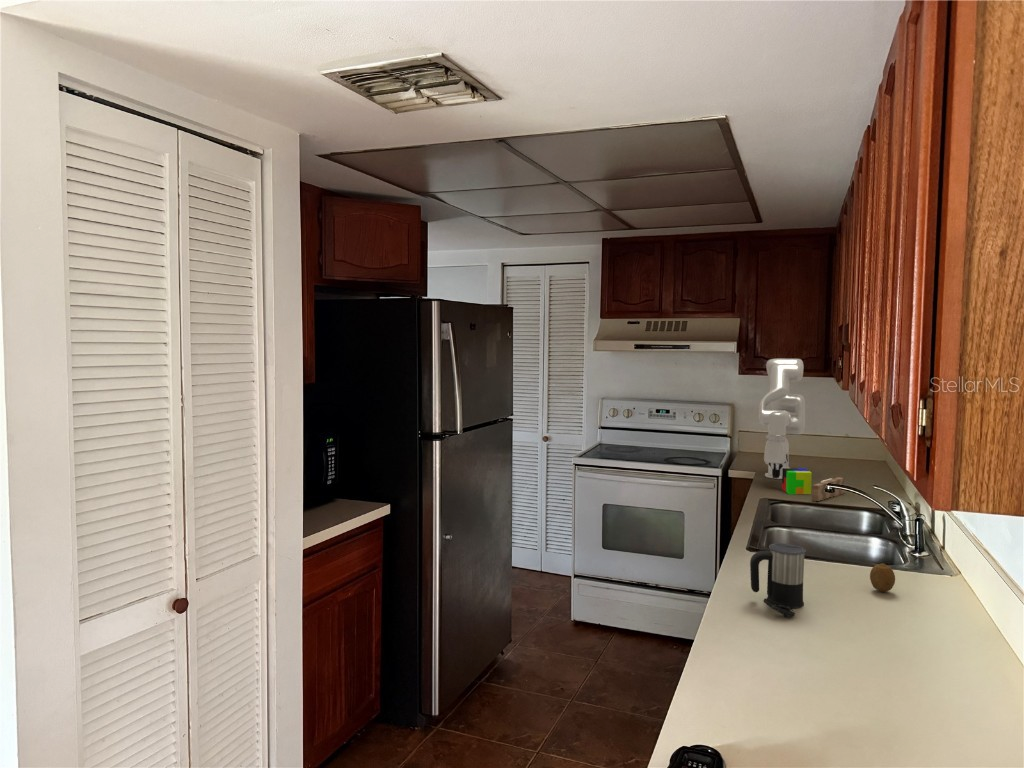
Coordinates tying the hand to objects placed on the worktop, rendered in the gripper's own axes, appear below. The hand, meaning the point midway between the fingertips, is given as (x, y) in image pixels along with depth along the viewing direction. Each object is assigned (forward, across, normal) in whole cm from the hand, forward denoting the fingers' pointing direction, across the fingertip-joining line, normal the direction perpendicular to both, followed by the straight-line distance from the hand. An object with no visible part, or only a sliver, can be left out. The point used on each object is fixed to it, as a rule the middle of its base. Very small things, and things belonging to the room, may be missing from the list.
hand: (776, 477), depth 332 cm
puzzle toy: (+6, +10, 0) cm, 11 cm away
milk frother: (+6, +75, -136) cm, 156 cm away
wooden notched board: (+5, +24, 0) cm, 25 cm away
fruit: (+6, +88, -105) cm, 137 cm away
